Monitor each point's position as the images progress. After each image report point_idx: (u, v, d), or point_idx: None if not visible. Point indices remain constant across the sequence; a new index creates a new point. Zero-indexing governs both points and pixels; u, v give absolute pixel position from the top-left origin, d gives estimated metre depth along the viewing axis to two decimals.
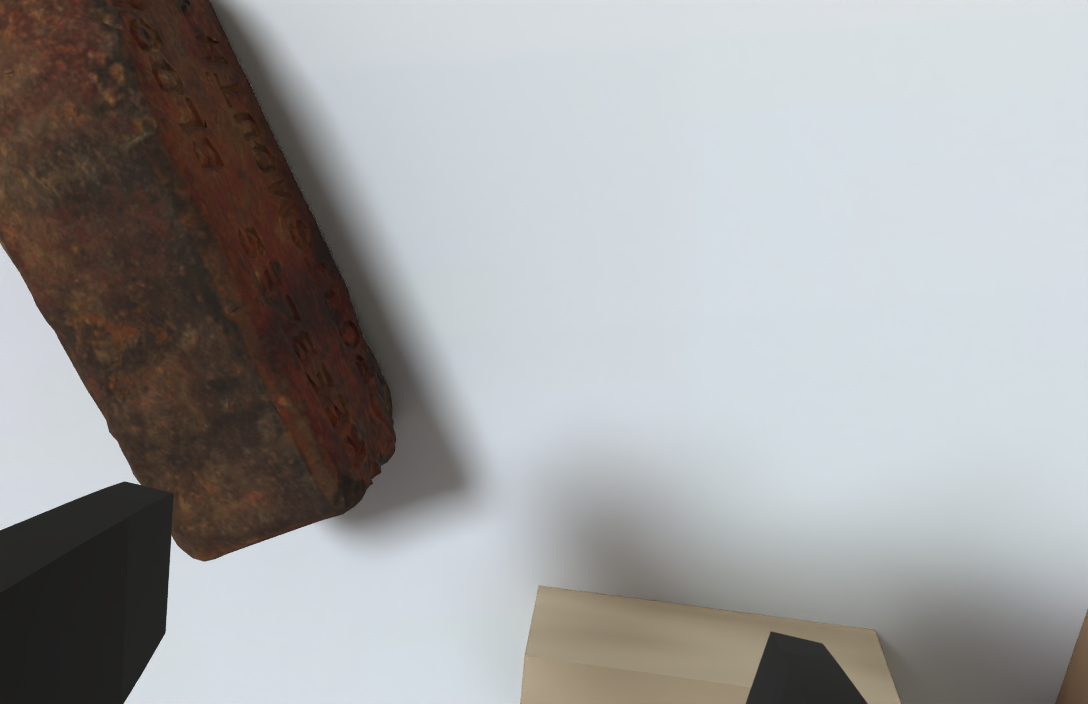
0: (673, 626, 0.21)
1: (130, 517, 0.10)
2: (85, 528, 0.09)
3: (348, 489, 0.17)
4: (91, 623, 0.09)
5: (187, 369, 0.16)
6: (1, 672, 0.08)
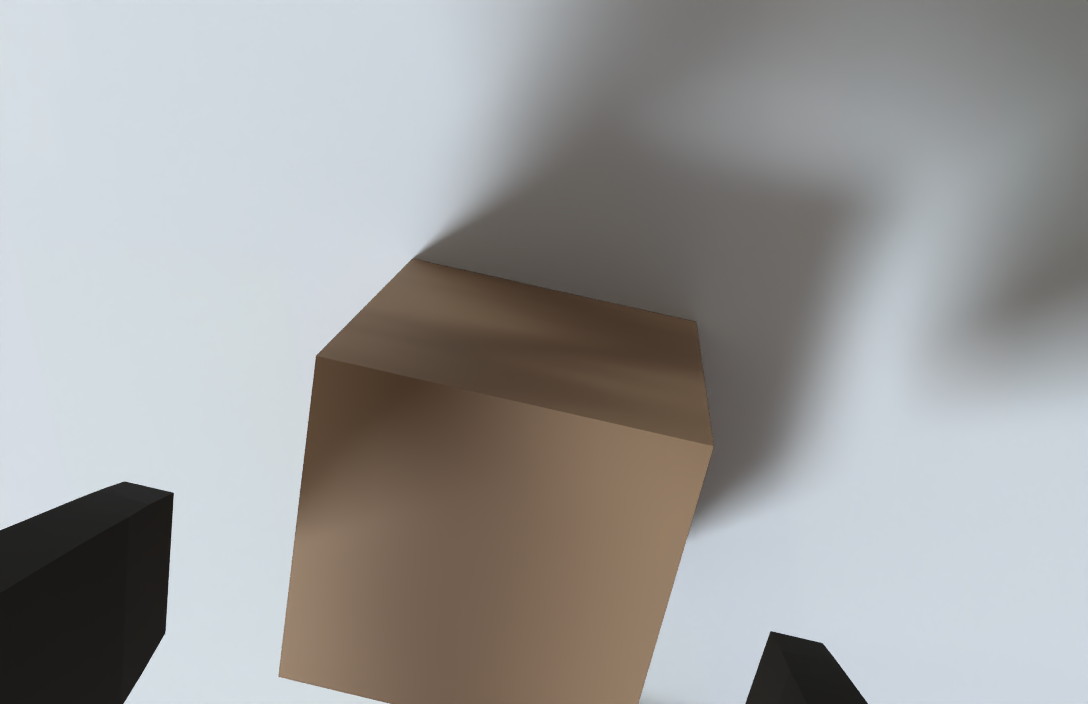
0: None
1: (130, 517, 0.10)
2: (85, 528, 0.09)
3: None
4: (91, 623, 0.09)
5: None
6: (1, 672, 0.08)
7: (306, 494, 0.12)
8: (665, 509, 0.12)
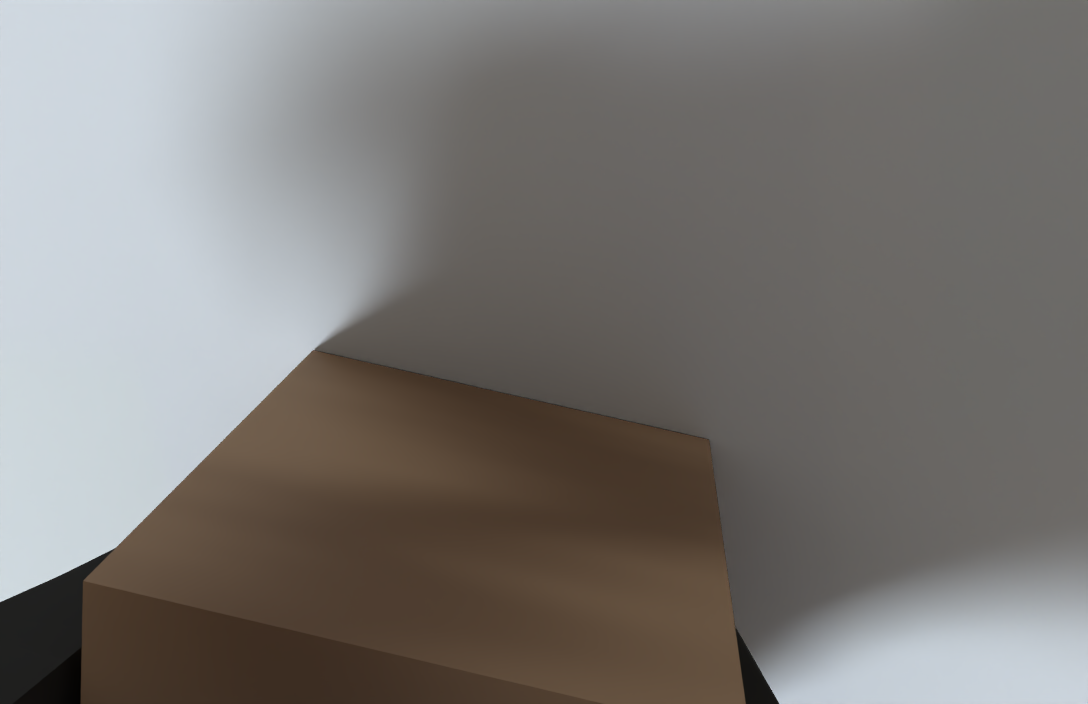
0: None
1: None
2: None
3: None
4: None
5: None
6: None
7: None
8: None
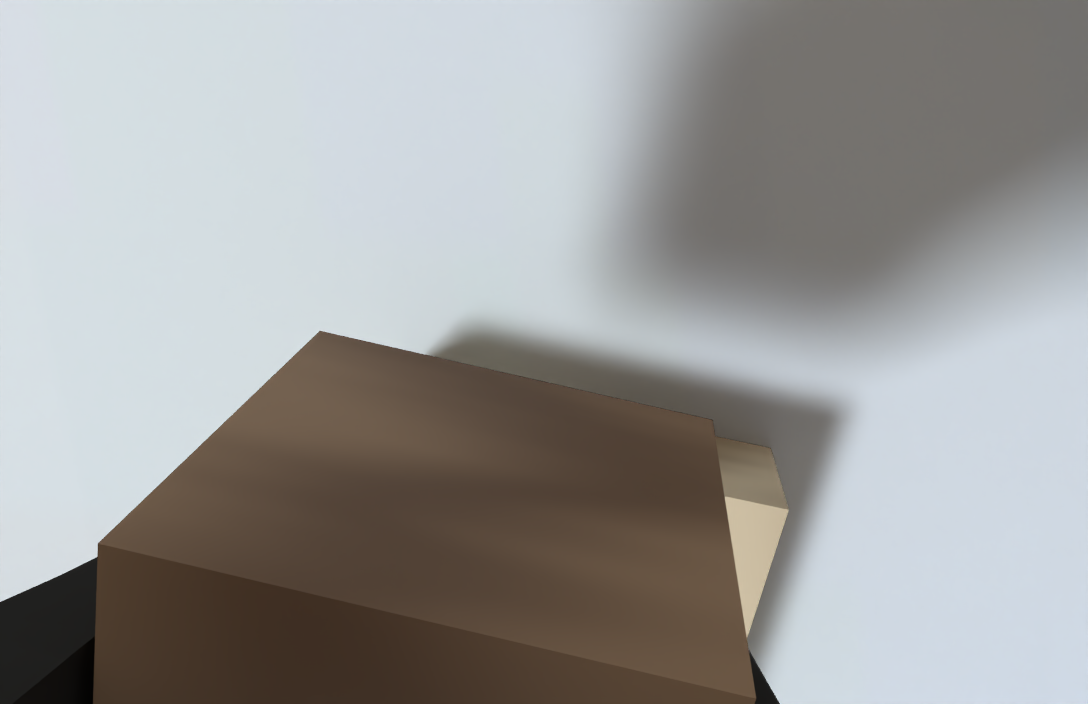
0: None
1: None
2: None
3: None
4: None
5: None
6: None
7: None
8: None
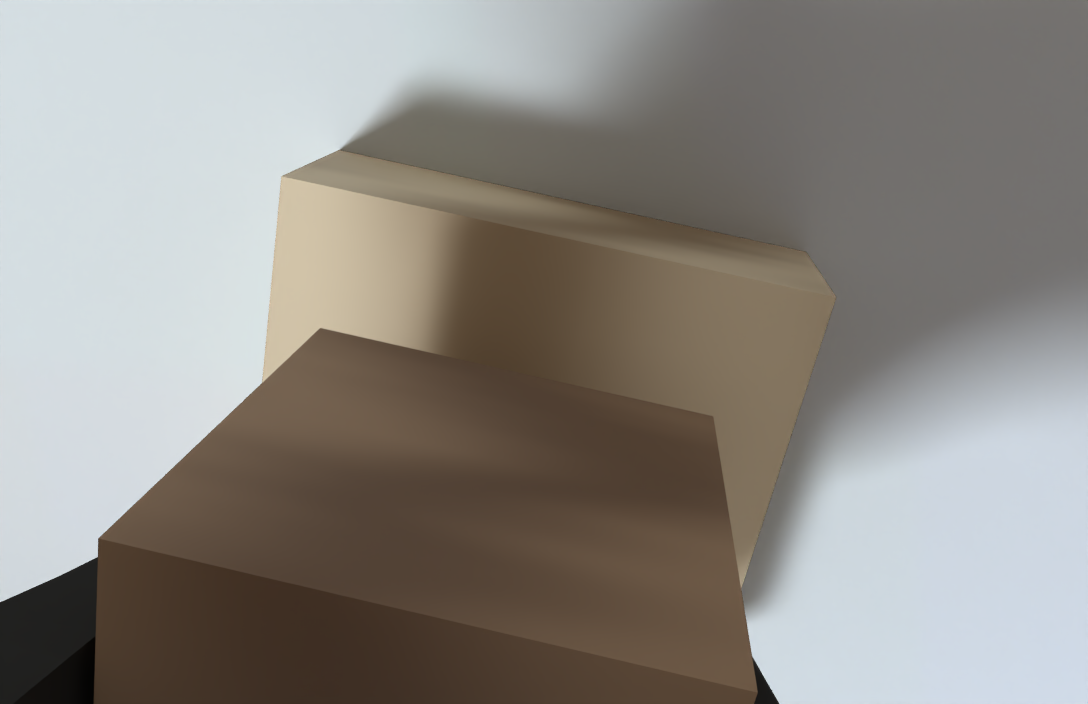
0: None
1: None
2: None
3: None
4: None
5: None
6: None
7: None
8: None
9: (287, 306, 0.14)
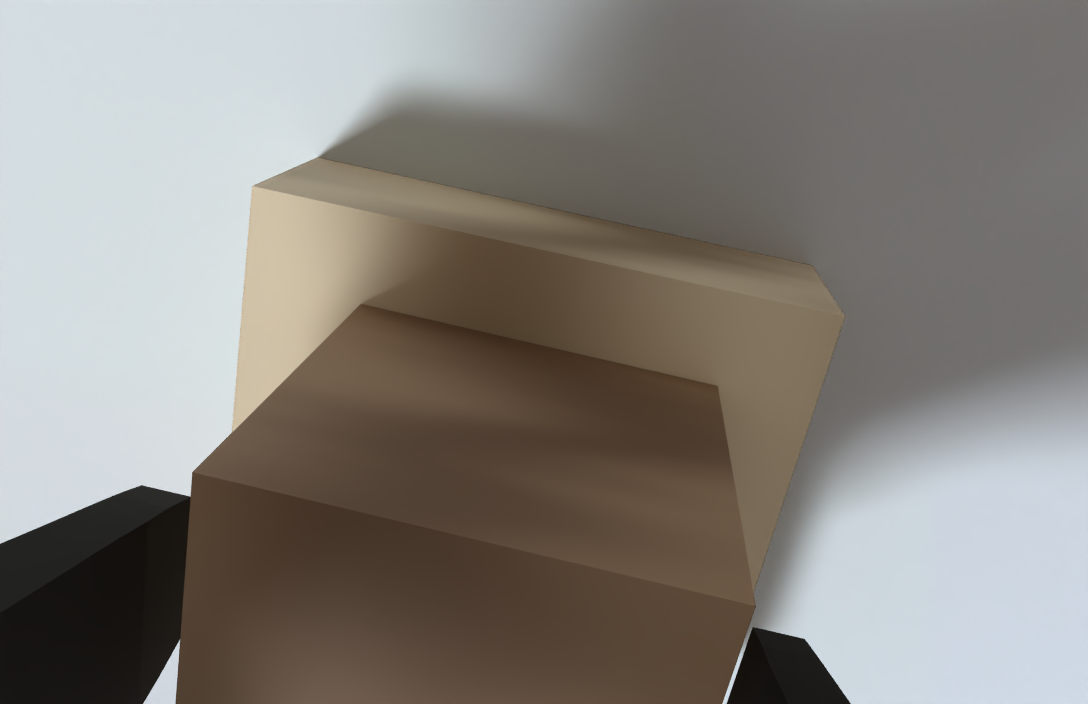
0: None
1: (149, 521, 0.10)
2: (105, 533, 0.09)
3: None
4: (110, 628, 0.09)
5: None
6: (23, 677, 0.08)
7: (186, 654, 0.09)
8: (684, 687, 0.08)
9: (260, 324, 0.13)
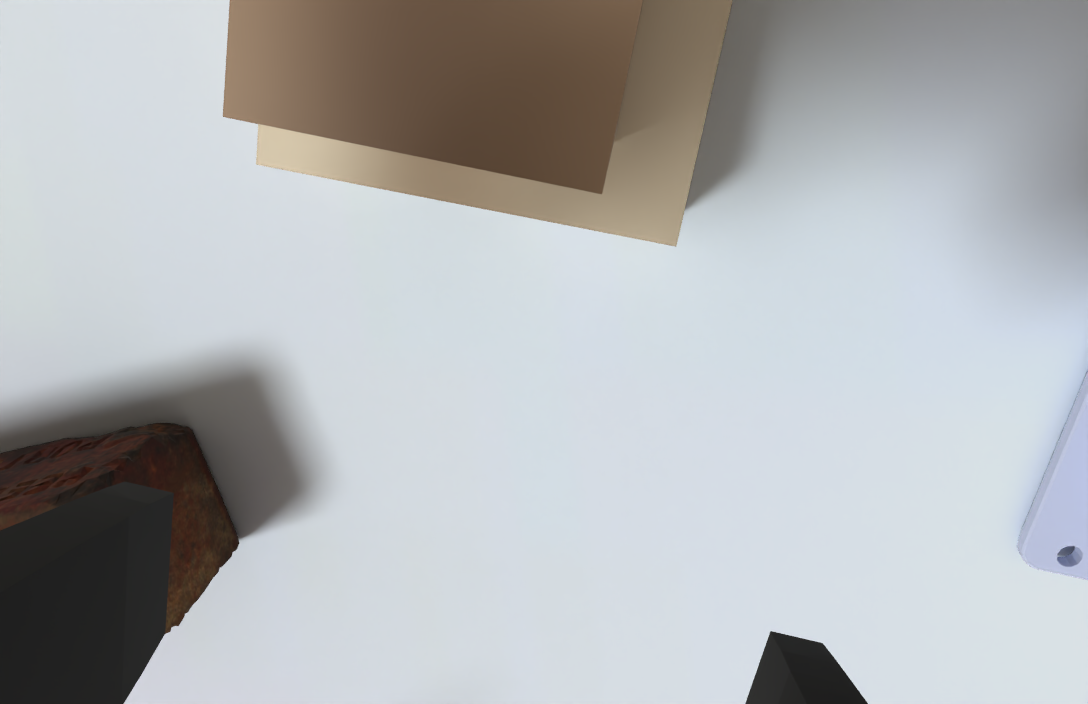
0: None
1: (130, 517, 0.10)
2: (85, 528, 0.09)
3: (70, 496, 0.19)
4: (91, 623, 0.09)
5: None
6: (1, 672, 0.08)
7: None
8: None
9: None
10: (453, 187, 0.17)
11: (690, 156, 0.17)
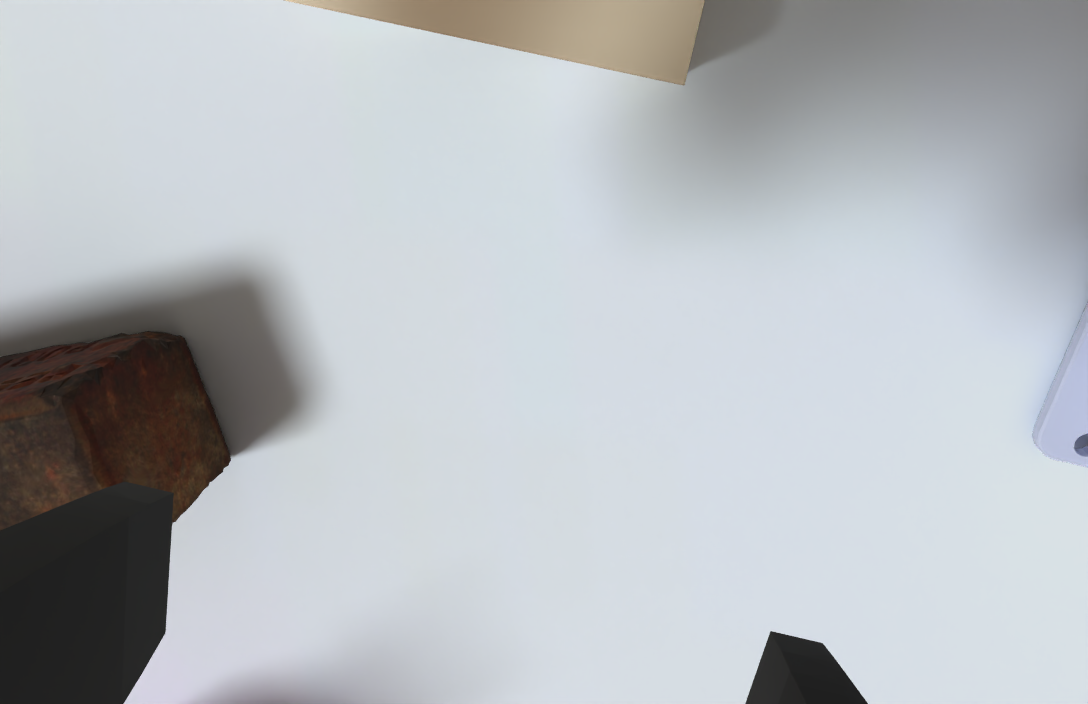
0: None
1: (130, 517, 0.10)
2: (85, 528, 0.09)
3: (56, 389, 0.18)
4: (91, 623, 0.09)
5: None
6: (1, 672, 0.08)
7: None
8: None
9: None
10: (449, 17, 0.16)
11: None
